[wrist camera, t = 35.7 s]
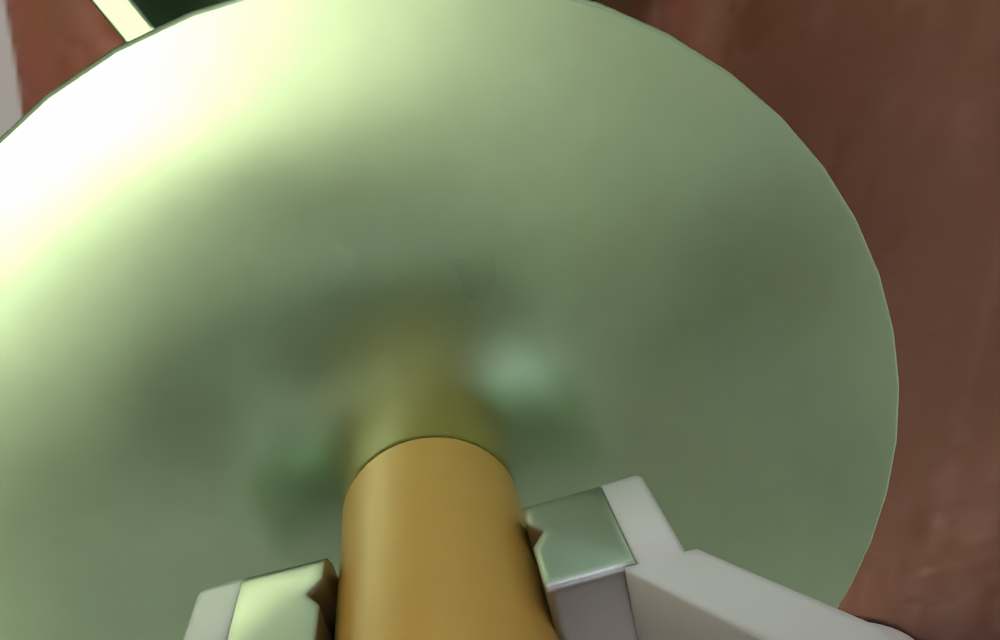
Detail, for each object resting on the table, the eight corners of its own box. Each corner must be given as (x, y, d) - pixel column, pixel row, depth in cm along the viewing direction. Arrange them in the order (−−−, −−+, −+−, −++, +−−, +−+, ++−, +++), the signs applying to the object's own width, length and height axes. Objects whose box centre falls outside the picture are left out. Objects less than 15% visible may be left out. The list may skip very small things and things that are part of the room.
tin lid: (870, 673, 15) (1134, 1031, 10) (149, 882, 14) (19, 1388, 9) (830, -141, 10) (1347, -304, 5) (-304, 125, 9) (-1211, 287, 4)
